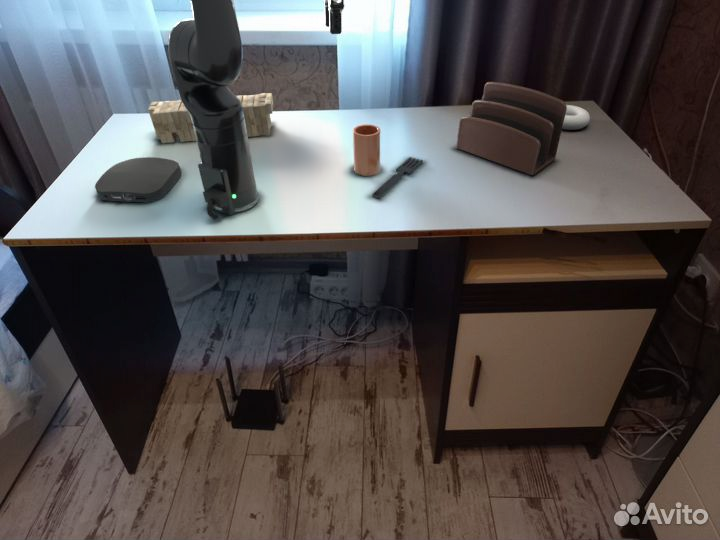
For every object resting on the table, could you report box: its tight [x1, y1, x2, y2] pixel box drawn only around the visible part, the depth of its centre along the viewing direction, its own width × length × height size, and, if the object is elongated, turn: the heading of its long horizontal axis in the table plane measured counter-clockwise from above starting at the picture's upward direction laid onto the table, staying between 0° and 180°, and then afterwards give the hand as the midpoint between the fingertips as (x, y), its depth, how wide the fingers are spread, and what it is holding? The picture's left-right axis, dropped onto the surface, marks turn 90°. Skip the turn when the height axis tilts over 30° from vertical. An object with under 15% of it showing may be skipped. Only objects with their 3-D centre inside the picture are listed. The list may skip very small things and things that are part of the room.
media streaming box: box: [94, 156, 182, 203], centre depth 106 cm, size 15×15×3 cm
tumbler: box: [352, 124, 381, 177], centre depth 107 cm, size 6×6×9 cm
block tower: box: [147, 92, 274, 144], centre depth 124 cm, size 8×8×29 cm
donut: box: [562, 104, 591, 131], centre depth 125 cm, size 10×3×10 cm
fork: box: [371, 156, 424, 200], centre depth 107 cm, size 18×3×1 cm, turn 149°
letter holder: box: [456, 81, 568, 177], centre depth 110 cm, size 10×20×14 cm, turn 46°
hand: (333, 30), depth 101 cm, fingers open, 8 cm apart
